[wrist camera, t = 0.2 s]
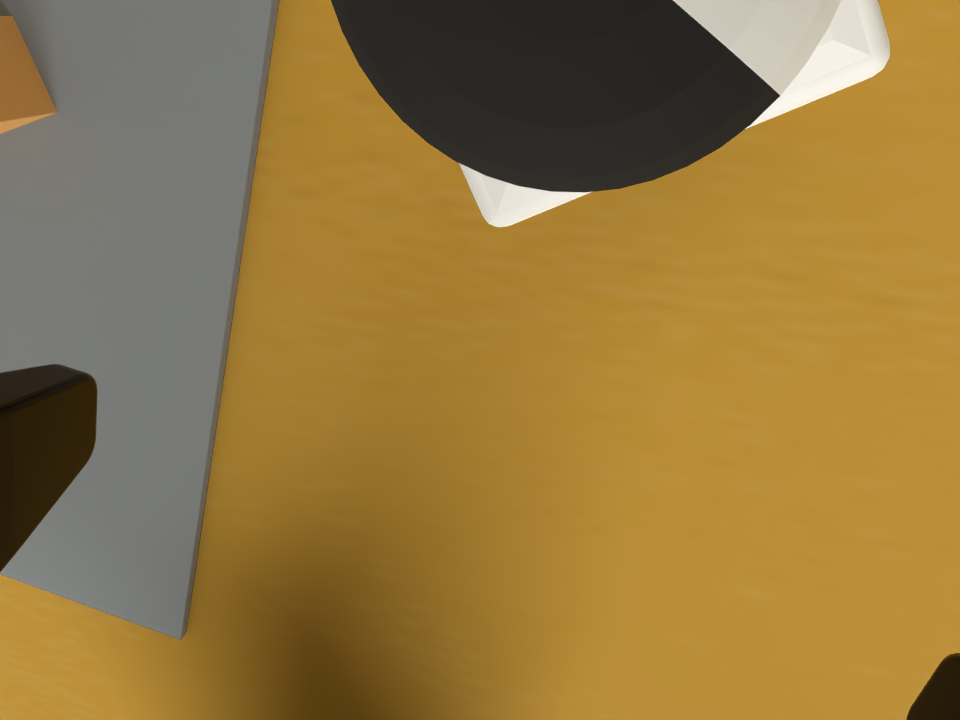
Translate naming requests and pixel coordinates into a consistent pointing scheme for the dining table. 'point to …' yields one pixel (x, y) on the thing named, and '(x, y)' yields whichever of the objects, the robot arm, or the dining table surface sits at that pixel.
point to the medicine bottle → (600, 82)
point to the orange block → (19, 81)
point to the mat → (131, 273)
